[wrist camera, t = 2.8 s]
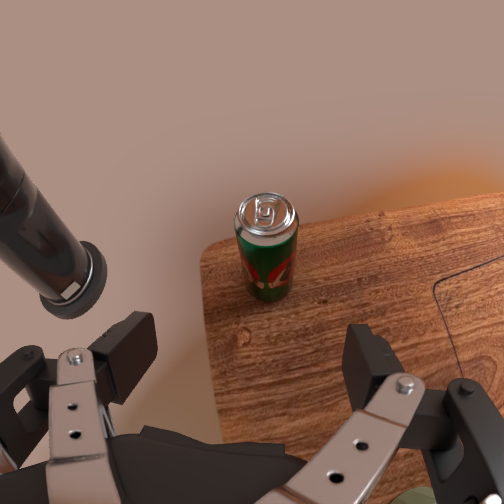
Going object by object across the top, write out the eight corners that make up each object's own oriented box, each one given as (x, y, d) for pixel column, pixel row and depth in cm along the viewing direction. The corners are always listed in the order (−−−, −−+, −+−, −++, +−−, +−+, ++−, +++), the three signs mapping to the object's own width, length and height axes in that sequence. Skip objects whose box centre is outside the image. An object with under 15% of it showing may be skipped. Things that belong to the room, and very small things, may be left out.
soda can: (294, 265, 33) (302, 190, 23) (289, 307, 31) (296, 243, 20) (250, 260, 34) (239, 185, 24) (241, 300, 31) (225, 235, 21)
